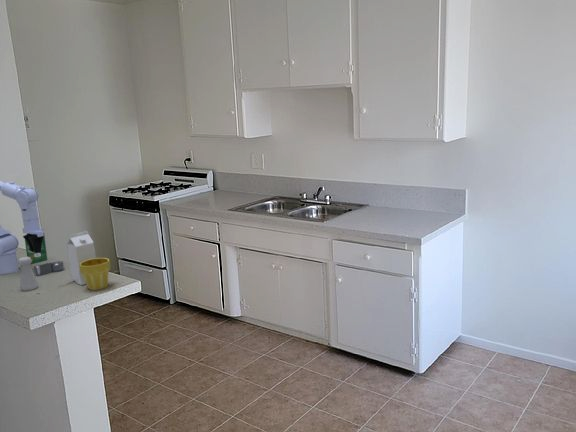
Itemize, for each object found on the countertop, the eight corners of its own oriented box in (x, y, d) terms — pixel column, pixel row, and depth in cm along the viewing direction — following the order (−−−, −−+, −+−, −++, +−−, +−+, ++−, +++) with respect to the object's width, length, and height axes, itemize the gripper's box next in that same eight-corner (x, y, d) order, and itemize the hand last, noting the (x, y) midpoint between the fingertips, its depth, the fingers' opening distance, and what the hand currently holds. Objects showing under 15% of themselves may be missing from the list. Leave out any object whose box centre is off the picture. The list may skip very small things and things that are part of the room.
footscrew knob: (60, 267, 221) (59, 259, 220) (66, 269, 218) (65, 260, 217) (33, 274, 213) (32, 265, 212) (39, 276, 210) (37, 267, 209)
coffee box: (48, 260, 238) (44, 232, 236) (48, 262, 236) (43, 233, 233) (28, 263, 236) (24, 234, 233) (28, 265, 233) (23, 236, 230)
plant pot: (92, 294, 189) (88, 267, 187) (77, 288, 196) (73, 263, 194) (118, 285, 197) (114, 259, 195) (103, 281, 204) (99, 256, 202)
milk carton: (72, 282, 205) (65, 233, 201) (90, 277, 210) (83, 229, 206) (81, 285, 200) (74, 236, 196) (99, 280, 205) (92, 232, 201)
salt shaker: (41, 288, 199) (36, 255, 197) (34, 294, 194) (29, 259, 191) (25, 289, 199) (19, 256, 196) (18, 295, 193) (12, 260, 191)
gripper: (48, 218, 211) (54, 252, 214) (33, 215, 221) (38, 247, 224) (30, 222, 206) (36, 256, 209) (15, 218, 216) (20, 251, 219)
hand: (36, 252), depth 216 cm, fingers open, 3 cm apart
